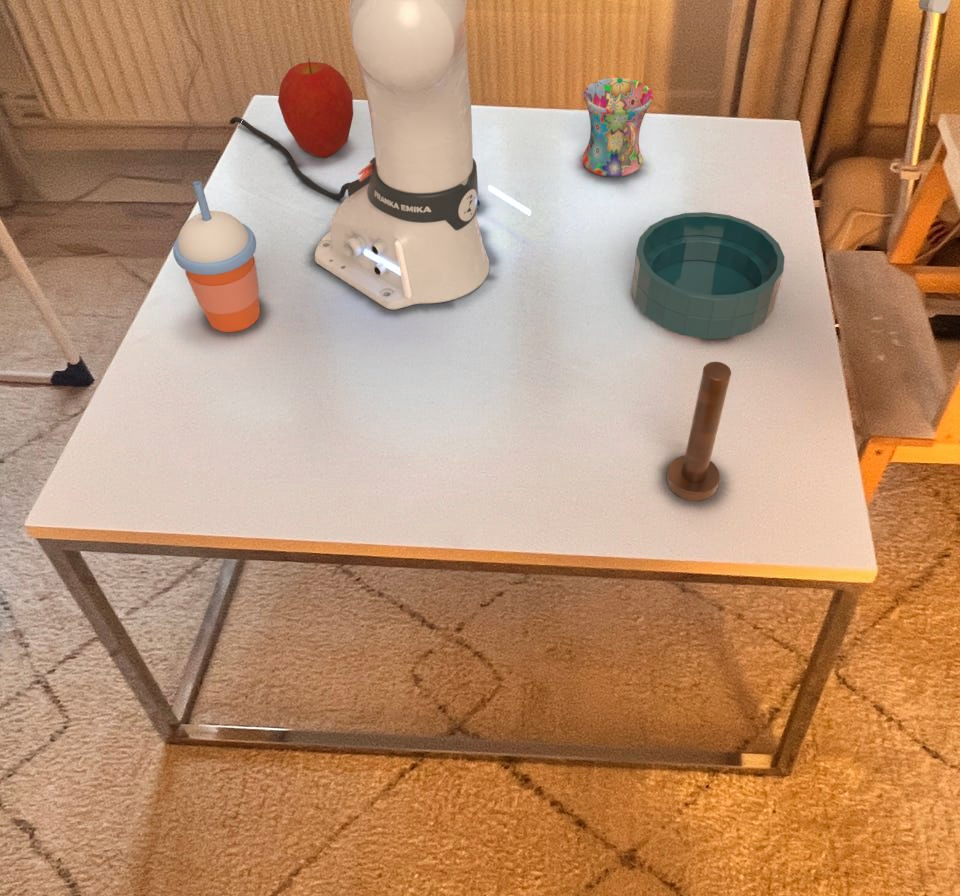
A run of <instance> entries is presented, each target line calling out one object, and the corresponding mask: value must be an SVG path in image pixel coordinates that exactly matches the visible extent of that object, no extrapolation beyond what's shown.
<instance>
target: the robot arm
mask: <svg viewBox="0 0 960 896" xmlns="http://www.w3.org/2000/svg"><path fill="white" fill-rule="evenodd" d="M951 1H952V0H919V3H918V9H919V10H922V11H925V12H930V13H937V14H940V15H942V14H946V12H947V11H948V8H949V7H950V4H951ZM467 9H468V0H349V4H348V20H349V30H350V37H351V41H352V46H353V49H354V53H355V57H356V61H357V66H358V70H359V74H360V79H361V82H362V86H363V89H364V93H365V96H366V100H367V105H368V110H369V117H370V118H369V119H370V126H371V135H372V141H373V149H374V157H373V158H372V159H370V160H369V164H368V165H366V166H365V167H364V168H362V169H361V170H360V171H359V172H358V176H360V175H361V176H360V177H359V178H358V179H356V180H354V181H351V182H346V183H344V184H342V186H341V187H340V190H339V192H338V193H335V192H331V191H329V190H327V189H325V188H323V187H321V186H319V185H318V184H317V183H316V182H314V181H313V180H311V178H309V177H308V176H306V175H305V174H304V173H303V172H302V171H301V170H300V169H299V167H298V166H297V164H296V161H295V159H294V158H293V155H291V153H290V151H289V150H287V148H286V147H284V146H283V145H282V143H280V142H279V141H277V140H276V139H274V138H273V137H271V136H269V135H268V134H266V133H264V132H263V131H261V130H259V129H258V128H256V127H254V126H253V125H252V124H251V123H249V122H248V121H246V120H245V119H243V118H241V117H239V116H234V117H232V118H230V120H229V124H231V125H235V124H236V123H238V124H240V123H241V121H242V120H243V121H242V123H241V124H240V125H242V126H243V127H244V128H246V129H247V130H249V131H250V132H251V133H253V134H254V135H256V136H258V137H259V138H261V139H263V140H265V141H266V142H268V143H270V144H271V145H272V146H274V147H275V148H277V150H279V151H280V152H281V153H282V154H283V155H284V156H285V157H286V160H287V161H288V163H289V165H290V167H291V169H292V171H293V172H294V173H295V175H296V176H297V177H298V178H299V179H300V180H302V181H303V182H304V183H305V184H306V185H307V186H309V187H310V188H312V190H314V191H316V192H317V193H319V194H322V195H324V196H326V197H329V198H330V199H333V200H342V199H343V198H344V197H345V195H346V192H347V195H348V197H347V198H346V199H345V200H343V201H342V202H341V203H340V204H339V206H338V207H337V209H336V210H335V211H334V213H333V215H332V218H331V221H330V230H329V231H328V232H327V233H326V234H325V235H324V236H323V237H322V238H321V240H320V241H319V243H318V244H317V245H316V246H317V247H316V249H315V252H314V262H315V263H316V264H317V265H319V266H320V267H321V268H323V269H325V270H327V271H328V272H329V273H330V274H333V275H334V276H335V277H337V278H339V279H340V280H342V281H343V282H344V283H346V284H348V285H350V286H351V287H353V288H354V289H355V290H358V291H359V292H361V293H362V294H364V295H365V296H366V297H369V299H371V300H373V301H374V302H376V303H377V304H379V305H381V306H382V307H383V308H385V309H387V310H400V309H403V308H407V307H410V306H413V305H421V304H423V305H424V304H440V303H445V302H450V301H453V300H457V299H460V298H462V297H464V296H467V295H469V294H470V293H472V292H474V291H475V290H477V288H479V287H481V285H482V284H483V283H484V281H486V278H487V277H488V276H489V273H490V268H491V267H490V260H489V256H488V254H487V251H486V249H485V245H484V242H483V238H482V233H481V230H480V225H479V219H478V209H477V202H478V200H479V185H478V183H479V181H478V168H477V162H476V160H475V159H474V155H473V154H474V153H473V123H472V122H473V121H472V119H473V118H472V117H473V116H472V97H471V88H470V87H471V86H470V75H469V62H468V44H467V43H468V42H467V13H468V12H467ZM487 187H488V191H489V192H491V193H492V194H494V195H495V196H497V197H499V198H500V199H502V200H503V201H505V202H507V203H508V204H510V205H511V206H513V207H515V208H516V209H517V210H519V211H521V212H522V213H524V214H525V215H528V216H531V215H532V209H529V208H528V207H526V206H525V205H523V204H521V203H520V202H518V201H517V200H515V199H514V198H512V197H510V196H508V195H507V194H505V193H504V192H502V191H500V190H499V189H498V188H496V187H494V186H492V185H491V184H489V185H488V186H487Z"/></svg>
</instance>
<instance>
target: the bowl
mask: <svg viewBox="0 0 960 896" xmlns="http://www.w3.org/2000/svg"><path fill="white" fill-rule="evenodd" d="M785 258H786V257H785V255H784V252H783V250H782V248H781V246H780V243H779V242H778V241H777V240H776V239H775V238H774V237H773V236H771V234H769V232H767V231H766V230H765V229H764V228H762V227H760V226H757V225H756V224H755V223H753V222H750V221H749V220H745V219H742V218H740V217H736V216H733V215H730V214H725V213H724V214H723V213H716V212H708V211H699V212H698V211H697V212H684V213H683V212H682V213H680V214H679V213H678V214H675V215H672V216H667V217H664V218H662V219H660V220H658V221H657V222H655V223H653V224H651V225H649V226H648V227H647V229H646V230H644V232H643V233H642V234H641V236H639V238H638V242H637V245H636V249H635V257H634V266H633V272H632V280H631V281H632V282H631V292H632V293H631V294H632V297H633V300H634V304H635V305H636V306H637V308H638V309H639V310H640V312H641V313H642V314H643V315H644V316H645V317H646V318H647V319H649V320H650V321H652V322H653V323H655V324H656V325H658V326H659V327H661V328H662V329H664V330H667V331H670V332H673V333H675V334H678V335H681V336H685V337H691V338H699V339H705V340H713V339H729V338H733V337H738V336H740V335H744V334H747V333H751V332H752V331H753V330H755V329H756V328H758V327H760V326H761V325H763V324H764V323H766V321H767V320H768V318H769V317H770V315H771V314H772V312H773V311H774V308H775V303H776V300H777V296H778V292H779V289H780V285H781V283H782V278H783V274H784V269H785Z"/></svg>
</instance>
